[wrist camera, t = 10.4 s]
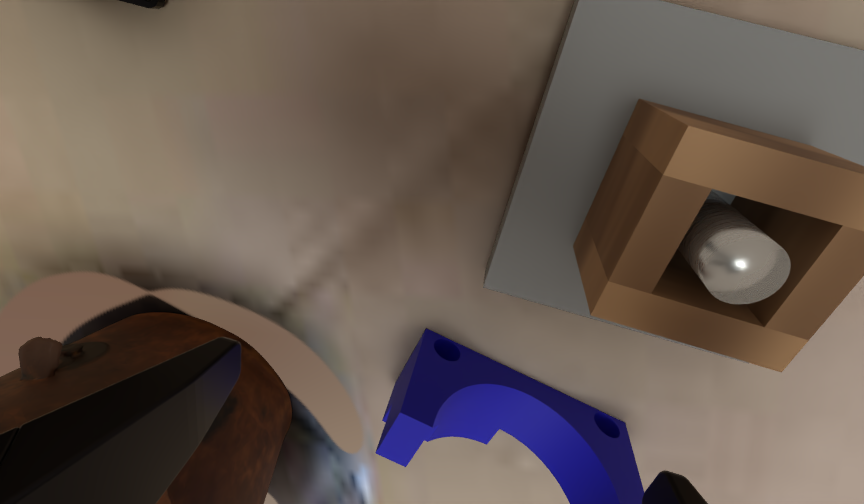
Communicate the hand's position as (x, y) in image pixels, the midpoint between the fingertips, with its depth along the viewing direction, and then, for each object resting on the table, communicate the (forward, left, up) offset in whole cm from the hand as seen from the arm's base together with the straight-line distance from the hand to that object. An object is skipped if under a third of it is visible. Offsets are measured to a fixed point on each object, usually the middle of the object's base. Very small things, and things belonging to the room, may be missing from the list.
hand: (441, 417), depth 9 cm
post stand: (+7, +3, -12) cm, 14 cm away
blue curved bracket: (+4, -11, -12) cm, 17 cm away
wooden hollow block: (+7, +3, -10) cm, 13 cm away
